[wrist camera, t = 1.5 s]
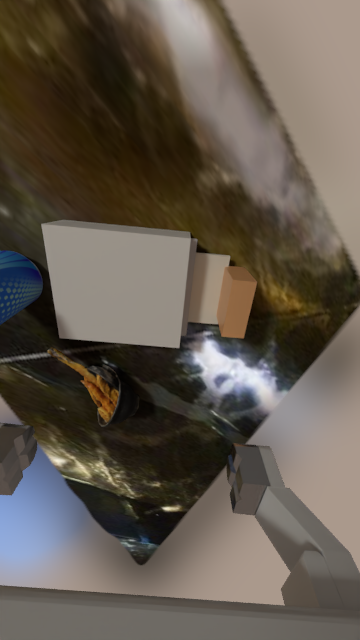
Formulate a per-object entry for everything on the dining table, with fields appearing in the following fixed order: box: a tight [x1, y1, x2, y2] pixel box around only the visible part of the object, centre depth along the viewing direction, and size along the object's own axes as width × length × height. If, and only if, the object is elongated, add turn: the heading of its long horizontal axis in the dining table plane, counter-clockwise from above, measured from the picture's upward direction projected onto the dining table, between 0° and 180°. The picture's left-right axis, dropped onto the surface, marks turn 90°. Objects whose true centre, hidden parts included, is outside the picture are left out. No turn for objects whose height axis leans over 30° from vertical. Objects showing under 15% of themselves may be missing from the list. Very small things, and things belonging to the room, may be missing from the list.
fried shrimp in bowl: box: [47, 348, 140, 427], centre depth 43 cm, size 9×11×18 cm
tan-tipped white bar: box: [188, 252, 257, 338], centre depth 34 cm, size 11×22×7 cm, turn 85°
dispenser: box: [41, 220, 197, 348], centre depth 36 cm, size 16×19×6 cm
